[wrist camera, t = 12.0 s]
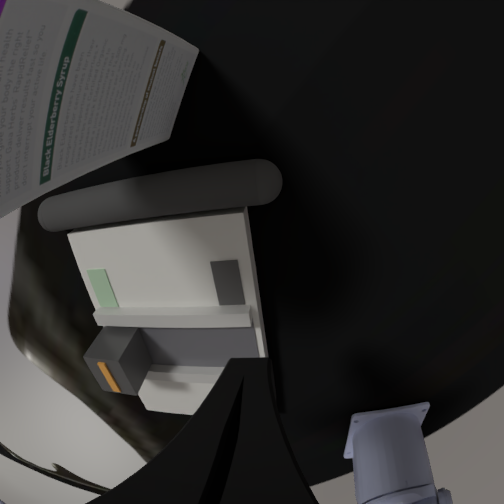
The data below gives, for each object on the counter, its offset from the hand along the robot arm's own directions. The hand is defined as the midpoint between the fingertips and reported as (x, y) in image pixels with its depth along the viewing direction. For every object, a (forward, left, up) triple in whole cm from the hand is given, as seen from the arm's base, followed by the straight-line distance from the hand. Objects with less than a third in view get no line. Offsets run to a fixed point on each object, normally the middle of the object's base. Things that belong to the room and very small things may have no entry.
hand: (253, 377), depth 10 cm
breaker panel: (-6, +7, -10) cm, 14 cm away
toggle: (-6, +11, -8) cm, 15 cm away
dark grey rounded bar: (+4, +7, -10) cm, 13 cm away
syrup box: (+11, +6, -10) cm, 16 cm away
